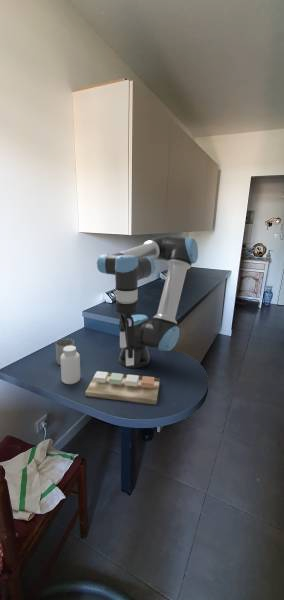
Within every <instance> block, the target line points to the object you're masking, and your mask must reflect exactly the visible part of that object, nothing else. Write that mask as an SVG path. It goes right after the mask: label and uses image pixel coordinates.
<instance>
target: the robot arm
mask: <svg viewBox="0 0 284 600" xmlns="http://www.w3.org/2000/svg"><path fill="white" fill-rule="evenodd" d="M198 258H199V247H198V241H196V239H195V238H192V237H187V236H185V237H181V236H165V235H164V236H160V237H155V238H152V239H149V240H146V241H144V242H143V244H140V245H137V246H135V247H132V248H129V249H126V250H122V251H119V252H117V253H116V252H115V253H113V254H109V253H106V254H105V253H102V254H100V255H99V256H98V258H97V261H96V268H97V270H98V272H100V273H102V274H106V275H113V276H115V291H113V294H114V295H115V300H116V301H115V312H116V313H117V314H119V320H118V328H119V348H120V349H121V351H120V354H119V356H118V362H119V364H121V366H123V367H125V368H131V369H138V368H139V369H140V368H144V367H146V366H148V365H149V364H150V362H151V361H150V359H151V358H150V357H151V356H150V353H149V351H148V347H149V348H153V349H157V350H159V351H166V352H169V351H172V350H173V348H174V347H176V345H177V342H178V340H179V337H180V328H179V327H178V322H177V320H176V316H177V312H178V308H179V303H180V300H181V295H182V292H183V286H184V283H185V279H186V275H187V270H189V269H191V268H192V264H196V263H197V260H198ZM155 260H160V261H161V260H162V261H166V263H167V265H168V269H167V272H166V275H165V276H166V277H165V281H164V285H163V289H162V294H161V297H160V301H159V304H158V309H157V313H156V314H155V315H154V316H153V317H152V319H151V320H149V317H148V316H147V314H146V315H145V314H135V313H137V311H138V293H139V291H138V290H139V288H138V281H140V280H142V279H146V278H149V277H151V276H152V275H153V274H154V273H155V271H156V263H155Z"/></svg>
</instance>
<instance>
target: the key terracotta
mask: <svg viewBox="0 0 284 600" xmlns="http://www.w3.org/2000/svg"><path fill="white" fill-rule="evenodd" d="M142 377H143V378H142V382H141V387H146V388H153V386H154V379H155V378H156V377H154V376H146V375H142Z"/></svg>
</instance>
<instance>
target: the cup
mask: <svg viewBox="0 0 284 600" xmlns="http://www.w3.org/2000/svg"><path fill="white" fill-rule="evenodd" d="M66 346H75V341H74V340H73V339H72V338H61V339H60V338H59V339H58V340H56V341H55V354H56V355H55V358H56V360H55V361H56V363H57V364H58V365H60V366H61V359H60V358H61V355H62V354H63V348H64V347H66Z"/></svg>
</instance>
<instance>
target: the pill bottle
mask: <svg viewBox="0 0 284 600" xmlns="http://www.w3.org/2000/svg"><path fill="white" fill-rule="evenodd" d="M80 358H81V356H80V353H79V352H77V347H76V346H75V345H74V346H66V347H64V348H63V354H62V355H61V358H60V359H61V365H60V373H61V375H60V376H61V381H62V383H64V384H66V385H73V384H77V383H78V382H79V381H80V380H81V359H80Z"/></svg>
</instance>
